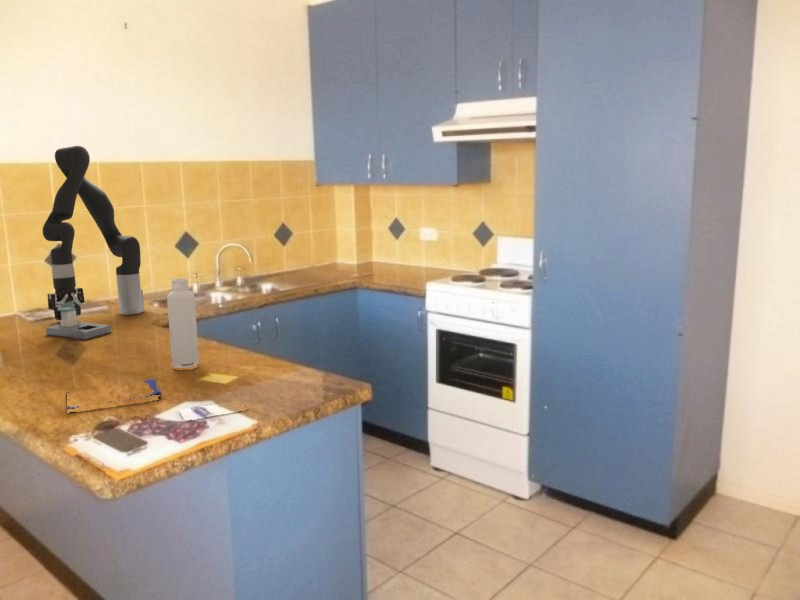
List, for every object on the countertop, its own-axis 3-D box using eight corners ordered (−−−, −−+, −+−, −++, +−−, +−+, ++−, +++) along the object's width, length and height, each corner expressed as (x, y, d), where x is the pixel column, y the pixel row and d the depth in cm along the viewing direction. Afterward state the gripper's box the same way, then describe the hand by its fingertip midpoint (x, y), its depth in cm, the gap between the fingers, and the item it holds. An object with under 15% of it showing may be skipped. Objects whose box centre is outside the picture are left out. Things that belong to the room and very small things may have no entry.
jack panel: (73, 328, 264) (72, 320, 263) (111, 332, 256) (110, 325, 255) (46, 335, 253) (45, 327, 252) (85, 340, 245) (84, 332, 244)
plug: (70, 329, 259) (67, 307, 257) (77, 330, 257) (75, 307, 256) (61, 332, 255) (58, 309, 254) (69, 333, 254) (66, 309, 252)
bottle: (204, 364, 214) (198, 278, 209) (188, 372, 207) (182, 282, 201) (183, 362, 217) (176, 276, 211) (167, 369, 209) (159, 281, 204)
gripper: (72, 272, 260) (76, 312, 263) (39, 278, 247) (45, 320, 250) (86, 273, 257) (90, 314, 260) (54, 279, 244) (59, 322, 247)
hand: (68, 317), depth 255 cm, fingers open, 8 cm apart
